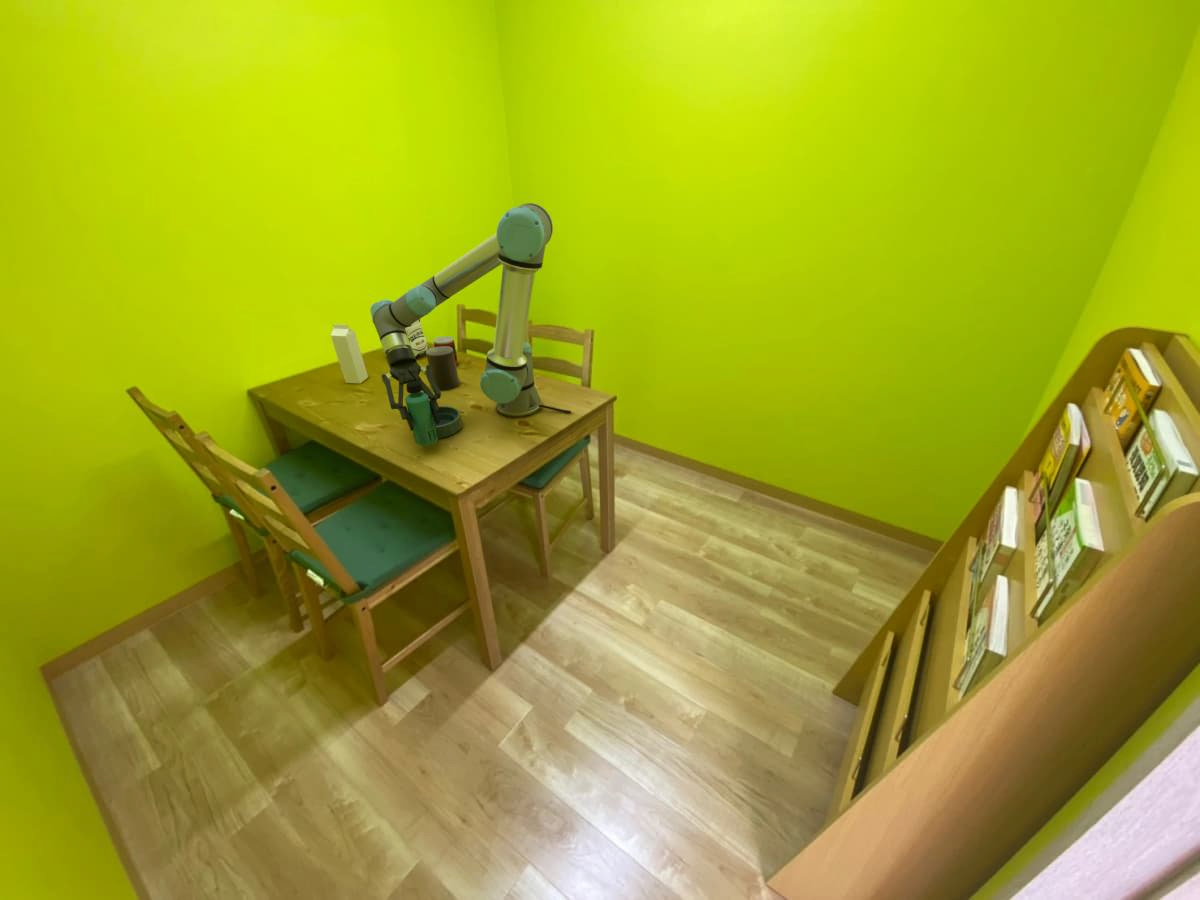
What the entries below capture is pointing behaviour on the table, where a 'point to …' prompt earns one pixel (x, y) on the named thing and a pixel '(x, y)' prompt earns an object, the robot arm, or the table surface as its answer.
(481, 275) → the robot arm
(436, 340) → the canned food
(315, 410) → the table surface
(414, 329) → the milk container
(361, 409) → the table surface
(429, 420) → the beverage bottle
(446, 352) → the pillar candle
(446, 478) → the table surface
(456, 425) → the dish
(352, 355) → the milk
